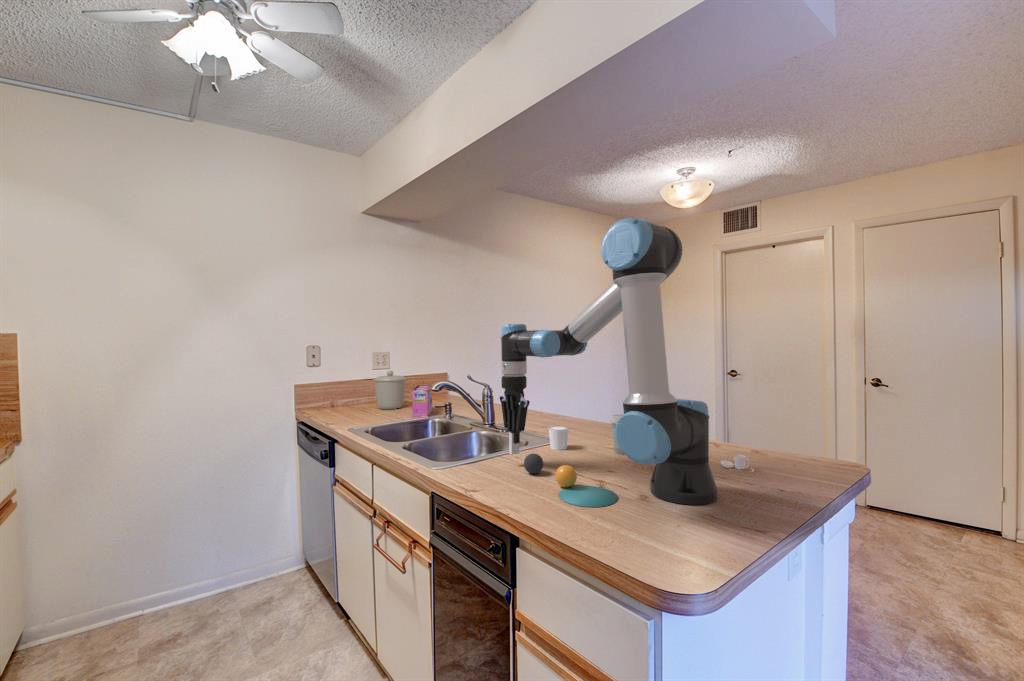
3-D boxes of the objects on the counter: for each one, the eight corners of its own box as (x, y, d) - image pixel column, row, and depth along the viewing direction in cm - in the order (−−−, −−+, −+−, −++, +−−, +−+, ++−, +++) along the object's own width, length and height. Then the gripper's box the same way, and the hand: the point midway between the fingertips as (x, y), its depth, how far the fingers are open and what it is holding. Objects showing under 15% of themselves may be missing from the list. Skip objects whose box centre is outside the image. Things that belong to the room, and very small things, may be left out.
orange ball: (581, 487, 111) (581, 466, 111) (564, 492, 108) (564, 470, 108) (567, 482, 116) (567, 461, 116) (550, 486, 113) (550, 464, 113)
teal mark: (630, 498, 103) (630, 497, 103) (586, 512, 96) (586, 511, 96) (588, 482, 115) (588, 482, 115) (546, 493, 107) (546, 492, 107)
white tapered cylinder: (567, 451, 148) (567, 430, 148) (547, 450, 149) (547, 429, 149) (569, 446, 155) (569, 426, 155) (549, 445, 156) (549, 425, 156)
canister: (388, 411, 232) (388, 372, 232) (366, 409, 242) (366, 371, 242) (413, 407, 247) (413, 370, 247) (391, 404, 257) (391, 369, 257)
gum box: (418, 409, 239) (417, 385, 239) (432, 409, 239) (432, 384, 239) (412, 417, 215) (411, 390, 215) (428, 417, 216) (428, 389, 216)
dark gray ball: (547, 474, 123) (547, 454, 123) (531, 477, 120) (531, 457, 120) (535, 469, 127) (535, 450, 127) (520, 472, 124) (519, 453, 124)
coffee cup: (633, 457, 140) (632, 419, 140) (607, 453, 144) (606, 417, 144) (640, 451, 147) (640, 415, 147) (615, 447, 151) (615, 413, 151)
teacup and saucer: (716, 467, 129) (715, 453, 129) (737, 464, 132) (737, 451, 132) (739, 475, 121) (739, 461, 121) (762, 472, 123) (762, 458, 123)
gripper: (492, 374, 135) (492, 450, 135) (515, 377, 124) (515, 460, 124) (512, 373, 139) (512, 447, 139) (537, 376, 128) (537, 456, 128)
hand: (514, 453), depth 132 cm, fingers closed
